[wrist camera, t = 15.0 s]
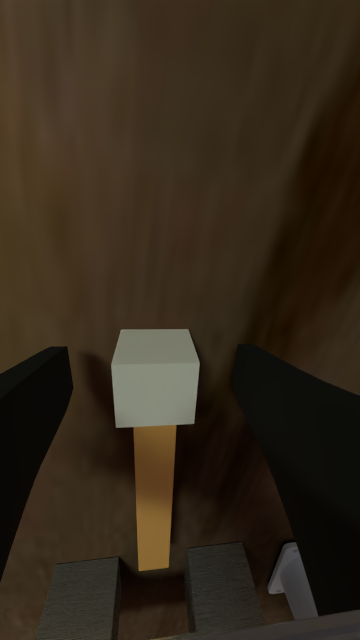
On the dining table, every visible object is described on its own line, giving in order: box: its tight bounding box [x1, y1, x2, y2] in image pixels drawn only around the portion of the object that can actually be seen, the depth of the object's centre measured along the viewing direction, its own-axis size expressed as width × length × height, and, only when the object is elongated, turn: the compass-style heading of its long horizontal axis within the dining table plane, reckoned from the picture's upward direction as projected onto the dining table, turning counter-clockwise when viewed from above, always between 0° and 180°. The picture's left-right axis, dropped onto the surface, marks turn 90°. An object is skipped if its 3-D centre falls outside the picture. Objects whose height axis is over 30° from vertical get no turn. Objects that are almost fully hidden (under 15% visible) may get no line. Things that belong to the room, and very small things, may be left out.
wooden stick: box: [111, 329, 200, 571], centre depth 13 cm, size 17×3×3 cm, turn 177°
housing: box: [35, 542, 266, 640], centre depth 17 cm, size 15×5×5 cm, turn 87°
